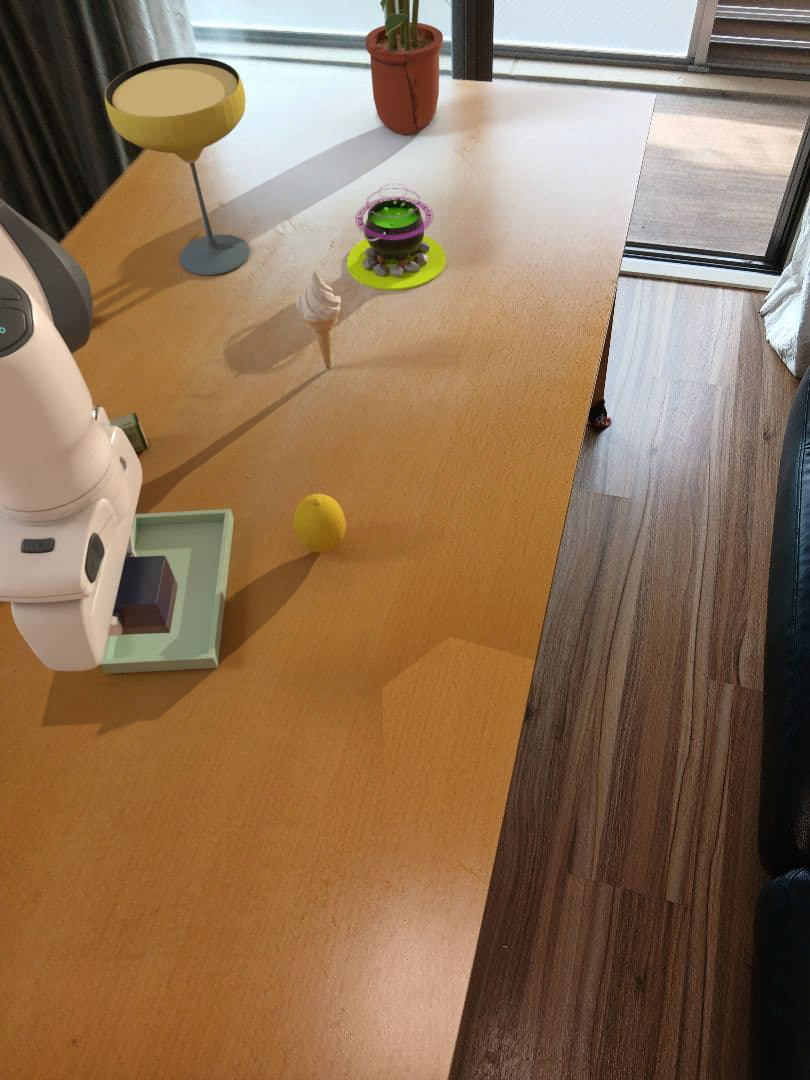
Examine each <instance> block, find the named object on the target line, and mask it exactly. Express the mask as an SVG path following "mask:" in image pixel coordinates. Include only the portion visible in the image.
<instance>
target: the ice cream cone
mask: <svg viewBox="0 0 810 1080" xmlns="http://www.w3.org/2000/svg"><path fill="white" fill-rule="evenodd" d="M332 292H334V289H333V288H331V286H329V285H328V284H326V283H325V281H324V280H323V279H322V278H321V277H320V276H319V275H318V274H317V272H316V271H315V270H314V271H313V272H312V275H311V277H310V279H309V281H308V282H307V284H306V286H305V287H304V289H303V291H302V292H301V294H300V295H299V297H298V299H297V300H296V302H295V304H296V308H297V312H298V314H299V316H300V317H301V318H302V319H303V320H304V323H305V325H306V327H307V328H309V329H311V330H314V331H315V336H316V339H317V343H318V347H319V349H320V353H321V356H322V359H323V364H324V366H325V368H326V369H327V370H329V369H331V366H332V358H331V357H332V355H331V353H332V349H331V348H332V347H331V343H332V340H331V339H332V338H331V329H332V327H334V326H335V325H336V324H337V323H338V315H339V314H340V312H341V303H342V299H341V296H340V295H336V296H335V295H334V294H333V293H332Z"/></svg>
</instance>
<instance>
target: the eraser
mask: <svg viewBox="0 0 810 1080" xmlns="http://www.w3.org/2000/svg"><path fill="white" fill-rule="evenodd" d="M177 588H178V584H177V582H176V580H175V577H174V575H173V572H172V570H171V568H170V566H169V563H168V561H167V559H166V556H140V557H125V561H124V565H123V570H122V574H121V579H120V583H119V588H118V592H117V596H116V601H115V605H114V610H120V612H121V613H122V615H123V617H124V619H125V620H124V626H123V630H122V634H121V635H129V634H155V633H170V629H171V623H172V617H173V612H174V606H175V600H176V594H177Z"/></svg>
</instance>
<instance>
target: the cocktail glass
mask: <svg viewBox="0 0 810 1080" xmlns="http://www.w3.org/2000/svg"><path fill="white" fill-rule="evenodd" d="M104 103H105V108H106V112H107V115H108V118H109V121H110V123H111V125H112V127H113V128H114V130H115V131H116V132H117V134H118V135H119V136H121V137H122V138H123V139H125V140H126V141H128V142H130V143H132V144H133V145H135V146H137V147H139V148H142V149H145V150H149V151H153V152H158V153H165V154H174V155H175V156H177V157H178V158H179V159H180V160H182V161H183V162H184V163H187V164H189V167H190V171H191V174H192V178H193V182H194V185H195V191H196V194H197V198H198V202H199V207H200V210H201V215H202V219H203V225H204V228H205V234H206V236H202V237H200V238H197V239H195V240H193V241H191V242H190V243H188V244H187V245H185V247H184V248H182V250H181V252H180V254H179V263H180V266H181V267H182V268H183V269H184V270H185V271H187V272H188V273H190V274H193V275H197V276H203V277H211V276H212V277H215V276H221V275H224V274H228V273H230V272H231V273H232V272H233V271H235V270H237V269H239V268H240V267H241V266H242V265H244V264H245V262H247V260H248V258H249V256H250V246H249V244H248V243H247V242H246V241H245V240H243V238H240V237H238V236H235V235H231V234H225V233H224V234H223V233H222V234H221V233H220V234H219V233H218V234H214V233H213V230H212V227H211V224H210V220H209V216H208V212H207V209H206V205H205V201H204V197H203V193H202V188H201V185H200V181H199V177H198V172H197V168H196V165H195V163H196V162H197V161H198V160H199V158H200V157H201V155H202V153H203V150H204V149H206V148H207V147H210V146H212V145H213V144H215V143H218V142H219V141H220V140H222V139H224V138H225V137H227V136H228V135H229V134H230V133H231V132H232V131H233V130H234V129H235V128H236V127H237V126H238V124H239V123H240V121H241V120H242V118H243V117H244V114H245V111H246V93H245V88H244V84H243V81H242V78H241V75H240V74H239V72H238V71H237V70H236V68H234V67H233V66H231V65H230V64H228V63H226V62H223V61H220V60H218V59H213V58H209V57H208V58H207V57H199V56H198V57H197V56H182V57H181V56H180V57H170V58H163V59H158V60H153V61H150V62H146V63H143V64H140V65H137V66H135V67H132V68H130V69H127V70H126V71H124V72H122V73H121V74H119V75H117V76H116V77H115V78H114V79H113V80H112V81H111V82H109V84H108V86H107V87H106V89H105V91H104Z"/></svg>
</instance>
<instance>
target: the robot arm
mask: <svg viewBox="0 0 810 1080" xmlns="http://www.w3.org/2000/svg"><path fill="white" fill-rule="evenodd" d="M92 294H93V293H92V289H91V285H90V282H89V279H88V277H87V275H86V274H85V272H84V270H83V268H82V267H81V265H80V264H79V263H78V261H76V259H75V258H74V257H73V256H72V255H71V253H69V252H68V251H67V249H65V247H63V246H62V245H61V244H60V243H58V241H56V240H55V239H54V238H53V237H52V236H50V235H49V234H48V233H47V232H45V231H43V230H42V229H41V228H40V227H38V226H37V225H35V224H34V223H33V222H31V221H30V220H28V219H27V218H26V217H25V216H23V215H22V214H20V213H19V212H17V211H16V210H15V209H14V208H12V207H11V206H10V205H9V204H8V203H6V202H5V201H4V200H3V199H2V198H1V197H0V602H3V603H4V602H6V603H10V609H11V615H12V618H13V621H14V623H15V626H16V628H17V630H18V632H19V633H20V634H21V636H22V637H23V639H24V641H25V642H26V644H27V645H28V646H29V647H30V649H31V650H32V651H33V653H34V654H35V655H36V657H37V658H38V659H39V660H40V662H41V663H42V665H44V666H46V668H47V669H49V670H52V671H55V672H82V671H89V670H92V669H95V668H98V667H99V666H101V665H100V664H101V662H102V660H103V655H104V650H105V646H106V641H107V637H108V636H119V635H121V634H122V630H123V626H124V620H125V619H124V617H123V615H122V613H121V612H120V610H114V605H115V601H116V596H117V592H118V588H119V583H120V579H121V574H122V570H123V565H124V561H125V557H138V556H137V554H136V552H135V550H134V548H133V547H134V545H133V534H132V525H133V521H134V516H135V514H136V512H137V506H138V502H139V498H140V493H141V489H142V485H143V480H144V479H143V478H144V477H143V468H142V464H141V461H140V459H139V457H138V455H137V452H135V451H134V449H133V447H132V445H131V443H130V441H129V440H128V438H127V436H126V435H125V433H124V432H123V431H122V429H121V428H119V427H117V426H111V425H110V422H109V420H110V419H109V417H108V415H107V412H106V410H105V409H104V407H102V406H99V405H97V404H94V403H93V399H92V395H91V392H90V390H89V388H88V386H87V383H86V380H85V378H84V377H83V375H82V372H81V370H80V368H79V366H78V364H77V362H76V361H75V358H74V356H73V354H74V353H76V352H77V351H79V350H80V349H82V348H83V347H85V346H86V345H87V344H88V342H89V339H90V336H91V331H92V323H93V295H92Z"/></svg>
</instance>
